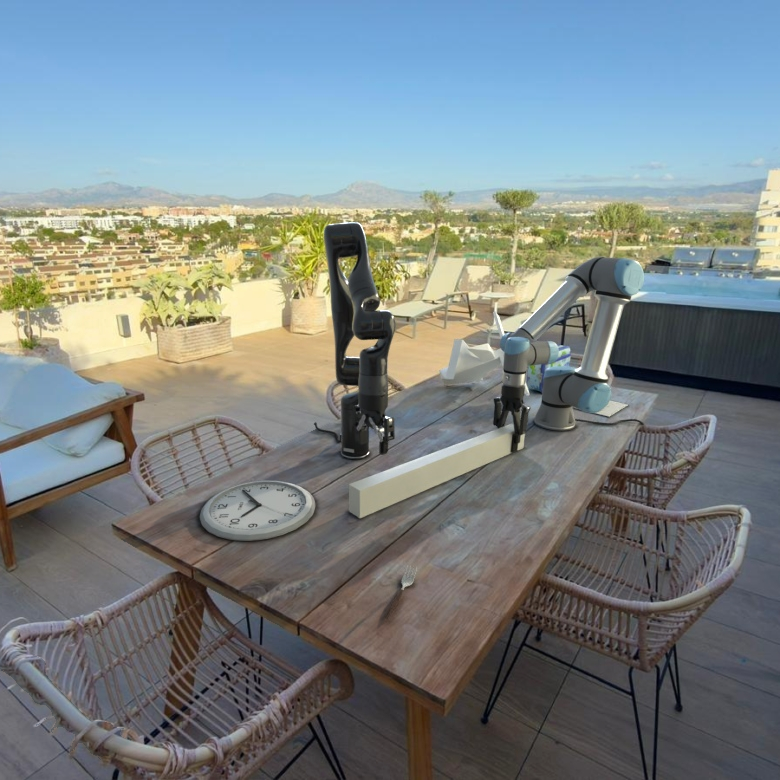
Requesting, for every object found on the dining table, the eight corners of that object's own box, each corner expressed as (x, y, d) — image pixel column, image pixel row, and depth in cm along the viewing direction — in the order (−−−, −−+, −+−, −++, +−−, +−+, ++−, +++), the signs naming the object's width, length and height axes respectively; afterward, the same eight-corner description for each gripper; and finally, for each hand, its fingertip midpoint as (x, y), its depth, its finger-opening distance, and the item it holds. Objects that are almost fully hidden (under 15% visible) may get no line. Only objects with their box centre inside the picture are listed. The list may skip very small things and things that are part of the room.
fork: (380, 619, 101) (380, 610, 101) (406, 571, 116) (406, 563, 115) (393, 622, 101) (393, 614, 100) (417, 574, 115) (417, 566, 114)
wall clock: (312, 532, 127) (184, 536, 124) (312, 538, 127) (185, 542, 125) (317, 476, 155) (214, 478, 153) (318, 481, 156) (214, 483, 153)
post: (512, 443, 186) (514, 422, 183) (523, 448, 182) (525, 426, 180) (348, 511, 140) (348, 484, 138) (359, 518, 137) (359, 490, 134)
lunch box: (542, 396, 239) (547, 351, 232) (522, 391, 246) (526, 347, 240) (570, 385, 256) (575, 343, 250) (550, 380, 263) (554, 339, 257)
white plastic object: (461, 429, 252) (437, 405, 227) (444, 352, 274) (420, 323, 250) (535, 404, 240) (518, 377, 215) (510, 326, 262) (492, 293, 237)
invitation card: (608, 416, 214) (573, 407, 224) (608, 416, 214) (573, 408, 224) (628, 404, 229) (594, 396, 238) (628, 405, 229) (594, 397, 238)
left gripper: (344, 385, 135) (345, 443, 140) (380, 399, 125) (379, 461, 129) (367, 380, 140) (366, 437, 144) (403, 393, 129) (401, 453, 134)
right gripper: (485, 380, 177) (480, 443, 184) (529, 392, 164) (522, 460, 171) (498, 376, 182) (493, 438, 189) (543, 388, 169) (535, 454, 176)
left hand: (372, 448), depth 137 cm, fingers open, 8 cm apart
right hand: (507, 448), depth 180 cm, fingers closed on post, 5 cm apart
